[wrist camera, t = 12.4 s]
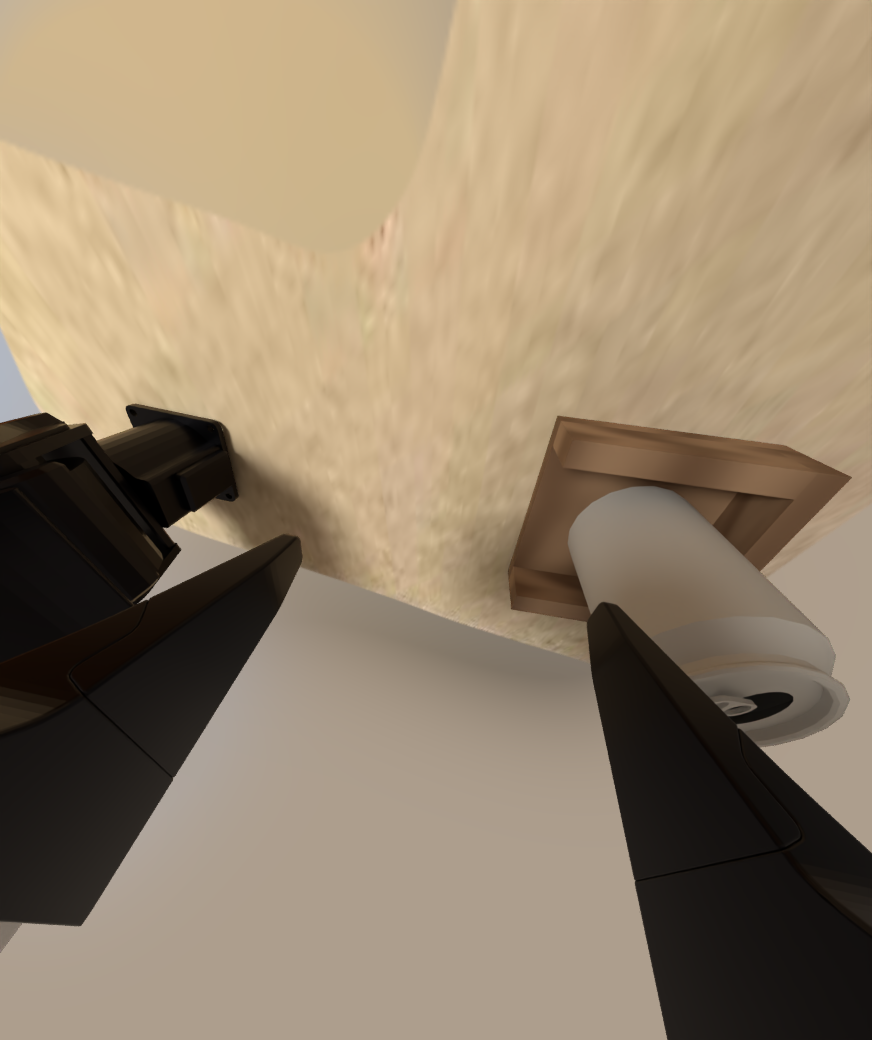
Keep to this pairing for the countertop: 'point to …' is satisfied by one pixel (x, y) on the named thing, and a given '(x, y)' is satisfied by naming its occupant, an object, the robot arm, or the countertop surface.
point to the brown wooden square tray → (669, 465)
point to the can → (708, 612)
